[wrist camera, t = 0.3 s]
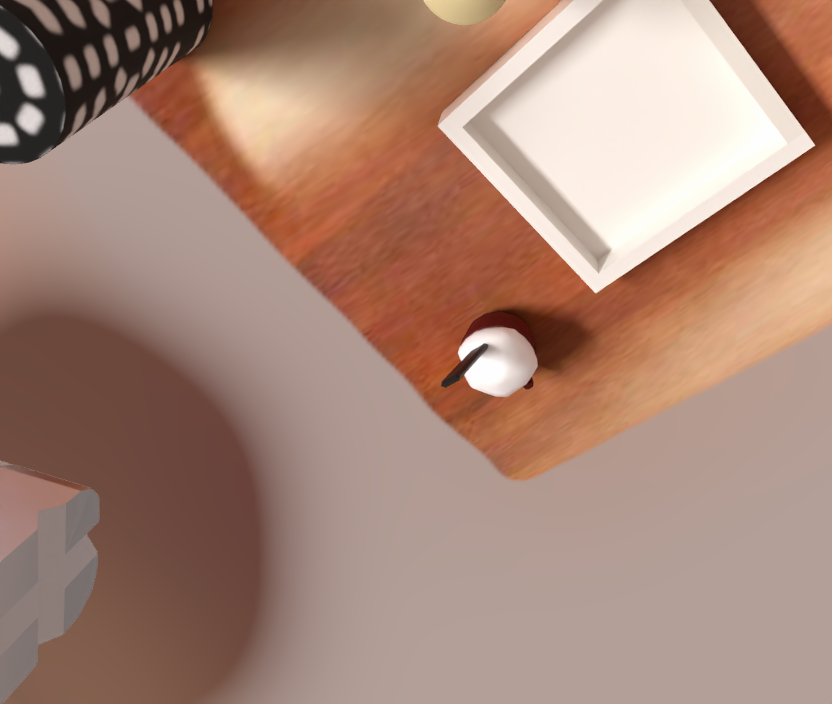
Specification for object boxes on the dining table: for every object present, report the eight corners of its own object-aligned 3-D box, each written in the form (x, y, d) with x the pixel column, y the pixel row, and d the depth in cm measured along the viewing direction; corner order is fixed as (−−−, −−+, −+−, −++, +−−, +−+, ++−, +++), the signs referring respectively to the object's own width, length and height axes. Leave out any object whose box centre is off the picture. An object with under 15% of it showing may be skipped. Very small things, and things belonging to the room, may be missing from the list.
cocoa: (545, 361, 67) (551, 461, 58) (475, 375, 69) (470, 473, 59) (519, 271, 62) (521, 364, 52) (445, 288, 63) (433, 381, 54)
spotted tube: (197, -76, 50) (29, -15, 34) (224, 55, 55) (88, 163, 39) (80, -69, 52) (-134, -7, 36) (116, 59, 56) (-58, 165, 40)
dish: (649, -82, 46) (654, -75, 44) (803, 129, 52) (815, 145, 50) (442, 111, 55) (437, 125, 53) (594, 273, 61) (595, 293, 58)
